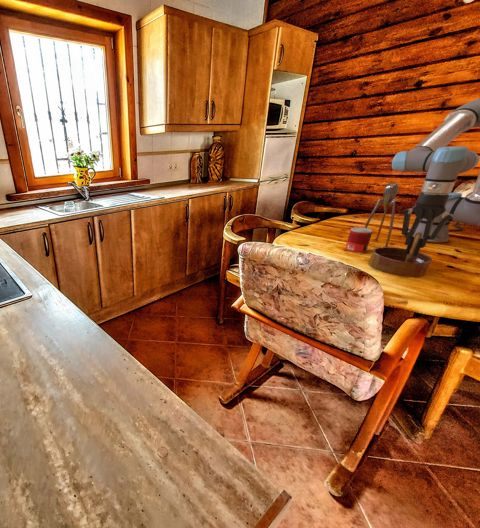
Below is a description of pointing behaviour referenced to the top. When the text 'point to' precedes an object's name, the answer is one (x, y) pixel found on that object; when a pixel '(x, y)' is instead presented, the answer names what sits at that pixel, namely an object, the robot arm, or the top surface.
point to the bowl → (399, 262)
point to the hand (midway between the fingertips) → (411, 253)
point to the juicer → (388, 198)
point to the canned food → (358, 239)
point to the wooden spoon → (413, 247)
